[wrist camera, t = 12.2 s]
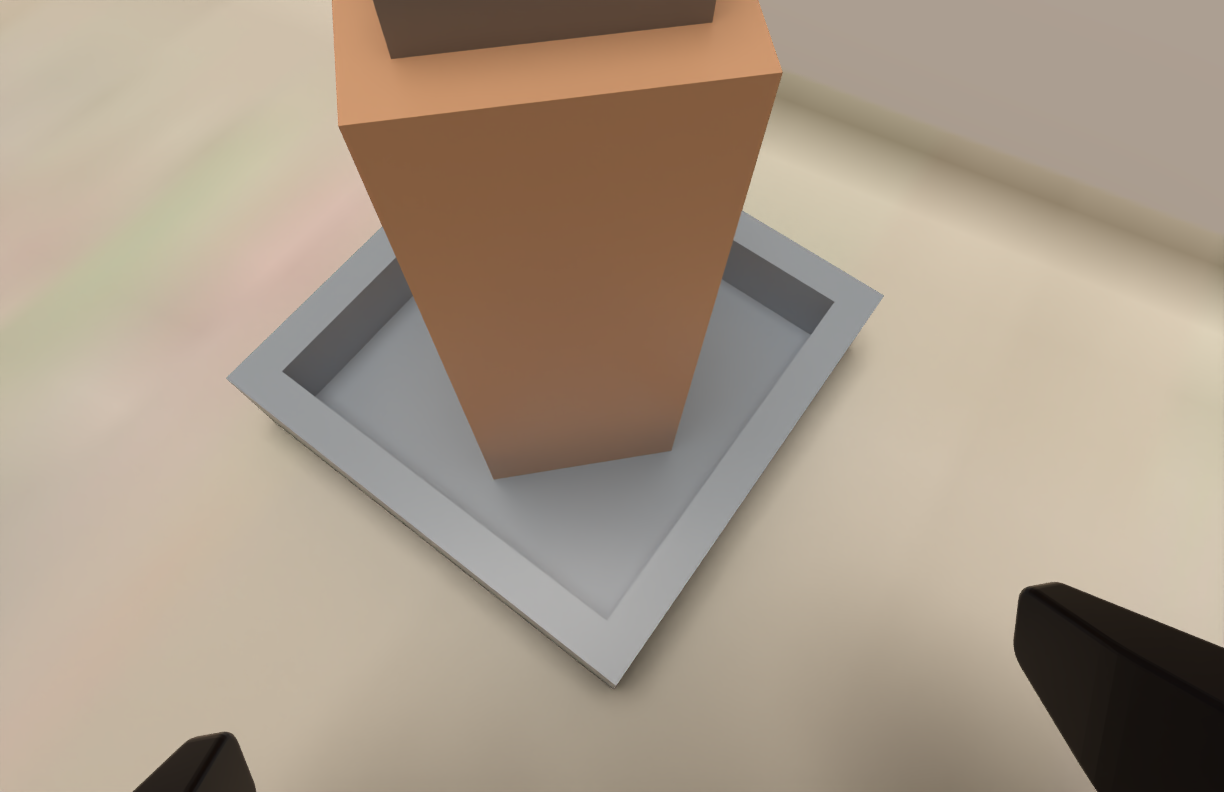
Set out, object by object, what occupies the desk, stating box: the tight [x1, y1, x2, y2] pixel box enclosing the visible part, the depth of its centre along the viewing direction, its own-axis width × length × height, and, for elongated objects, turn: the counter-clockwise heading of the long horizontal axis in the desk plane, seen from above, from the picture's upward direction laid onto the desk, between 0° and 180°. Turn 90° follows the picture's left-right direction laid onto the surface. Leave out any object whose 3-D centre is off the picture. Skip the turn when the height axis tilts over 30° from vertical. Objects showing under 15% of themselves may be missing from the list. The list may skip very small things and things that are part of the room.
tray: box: [226, 211, 884, 689], centre depth 17 cm, size 10×10×2 cm
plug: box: [332, 0, 783, 479], centre depth 12 cm, size 5×4×13 cm
